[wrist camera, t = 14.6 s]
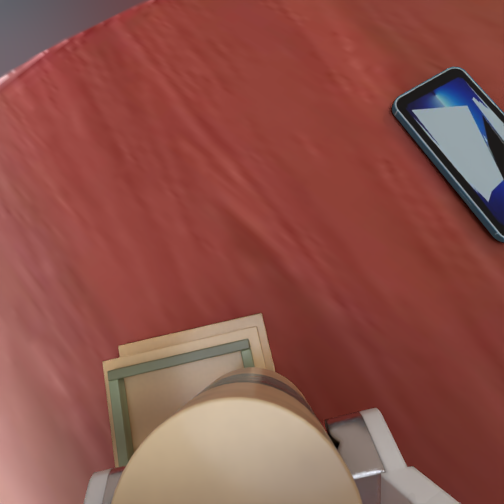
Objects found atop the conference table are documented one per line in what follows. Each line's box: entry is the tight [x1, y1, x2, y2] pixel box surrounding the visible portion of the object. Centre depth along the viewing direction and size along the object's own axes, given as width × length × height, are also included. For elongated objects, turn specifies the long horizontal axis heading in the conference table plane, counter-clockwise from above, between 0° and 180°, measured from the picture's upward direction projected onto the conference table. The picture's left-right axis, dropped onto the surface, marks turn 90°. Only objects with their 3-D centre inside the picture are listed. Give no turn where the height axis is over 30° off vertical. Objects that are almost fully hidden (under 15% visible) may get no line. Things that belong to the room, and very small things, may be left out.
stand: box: [103, 313, 275, 468], centre depth 24 cm, size 12×11×6 cm
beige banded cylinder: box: [111, 367, 363, 504], centre depth 11 cm, size 5×5×8 cm
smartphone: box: [392, 67, 504, 242], centre depth 30 cm, size 7×1×15 cm
